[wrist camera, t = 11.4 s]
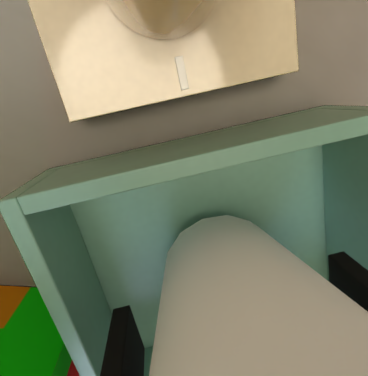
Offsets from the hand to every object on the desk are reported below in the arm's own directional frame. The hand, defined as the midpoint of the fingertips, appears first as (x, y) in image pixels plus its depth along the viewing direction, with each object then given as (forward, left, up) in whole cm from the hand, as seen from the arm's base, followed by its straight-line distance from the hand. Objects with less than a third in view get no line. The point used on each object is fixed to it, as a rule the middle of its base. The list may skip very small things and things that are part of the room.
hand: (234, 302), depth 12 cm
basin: (0, 0, -5) cm, 5 cm away
